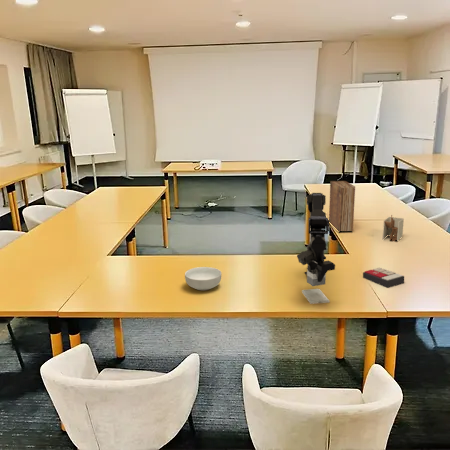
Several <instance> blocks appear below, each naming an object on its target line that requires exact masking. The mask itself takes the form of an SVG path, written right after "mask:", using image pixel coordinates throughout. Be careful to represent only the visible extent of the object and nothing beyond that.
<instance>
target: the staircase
mask: <svg viewBox="0 0 450 450" xmlns="http://www.w3.org/2000/svg"><path fill="white" fill-rule="evenodd" d="M404 220H405V219H404V218H402V217H393V214H391V216H387V218H385V219H384V220H383V227H382V228H383V229H382V240H383V239H384V238H385V237H386V236H387V235H390V236H389V241H390V240H391V239H392V241H395V240H397V241H398V240H399V239H400V238H401V237H402V238H403V232H404ZM393 235H394V236H393ZM387 237H388V236H387ZM387 237H386V238H387ZM386 238H385V239H386ZM402 238H401V239H402ZM385 239H384V240H385ZM401 239H400V240H401ZM400 240H399V241H400ZM399 241H398V242H399Z"/></svg>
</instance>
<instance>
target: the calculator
mask: <svg viewBox="0 0 450 450" xmlns="http://www.w3.org/2000/svg"><path fill="white" fill-rule="evenodd" d="M362 278H363V279H365V280H368V281H370V282H373V283H375V284H377V285H380V286H382V287H383V288H386V289H390V288H393V287H396V286H400V285H403V284H404V283H405V275H402V274H399V273H396V272H395V271H392V270H389V269H388V270H387V269H386V268H382V267H375V268H373V269H369V270H365V271H364V272H362Z"/></svg>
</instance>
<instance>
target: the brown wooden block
mask: <svg viewBox="0 0 450 450" xmlns="http://www.w3.org/2000/svg"><path fill="white" fill-rule="evenodd" d="M329 182H330V183H329V206H328V208H329V210H328V211H329V212H328V213H329V214H328V220H329V222H330V223H331V224H332V225H333V226H334V227H335V228H336V229H337V230H338V231H339V232H340V231H353V232H354V222H355V221H354V219H355V202H356V200H355V198H356V197H355V196H356V186H355V185H353V184H352V183H350V182H348V181H346V180H341V179H340V180H330V181H329ZM340 233H341V232H340Z"/></svg>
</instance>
